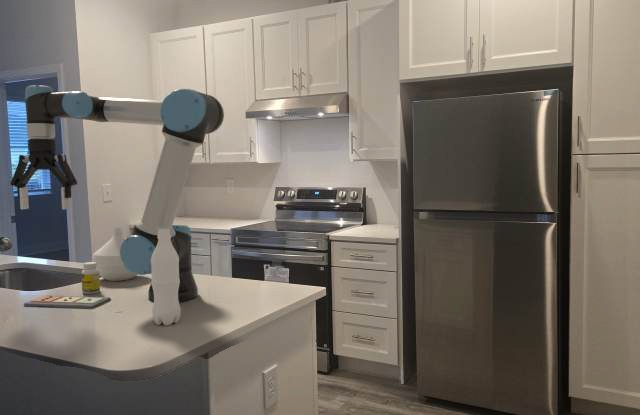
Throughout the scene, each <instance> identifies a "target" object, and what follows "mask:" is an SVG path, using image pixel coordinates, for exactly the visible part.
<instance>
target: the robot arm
mask: <svg viewBox="0 0 640 415" xmlns="http://www.w3.org/2000/svg"><path fill="white" fill-rule="evenodd" d="M24 98H25V99H24V104H25V113H26V114H25V115H26V136H27V138H29V139H28V140H27V150H28V152H29V155H27V154H20V155H19V156H18V163H17V166H16V169H15V171H14V173H13V176H12V179H11V181H10V186H12V187H13V186H14V187H16V188H17V189H16V190H17V197H18V199H19V205H20V210H29V209H30V206H29V205H30V204H29V189H28V187H27V184H28V182H30V180H31V179H32V177H33V176H34V175H35V174H36V172H38V171H39V170H44V171H45V170H47V171H50V173H52V174H53V176H54V177H55V178H56V179H57V180H58V181H59V183H60V184H61V185H62V187H61V188H60V192H61V195H60V196H61V209H62V210H70V205H71V204H70V199H71V198H72V187H73V186H77V185H78V181H77V179H76V176H75V175H74V174H73V171H72V170H71V168H70V165H69V163H68V161H67V155H66V154H62V153H61V154H60V153H59V154H56V151H57V142H56V140H55V138H56V125H55V124H56V119H77V120H85V121H93V122H98V123H122V124H123V123H125V124H139V125H151V126H152V125H153V126H154V125H155V126H162V129H161V133H162V135H163V137H164V143H163V145H162V146H163V147H162V149H161V152H160V157H159V159H158V163H157V167H156V170H155V174H154V177H153V181H152V184H151V186H150V190H149V195H148V197H147V201H146V204H145V206H144V207H145V209H144V211H143V215H142V217H141V219H139V220H137V221H136V222H134V224H133V225H134V226H133V227H132V228H133V229H132V232H131V235H129V236H127V237H125V238H126V239H125V240H124V241H123V242H122V244H121V247H120V257H121V260H122V262H123V263H124V266H125V267H126V268H127V269H128V270H129V271H130V272H132V273H134V274H137V275H139V276H144V275H152V269H151V257H152V254H153V252H154V250H155V248H156V246H157V244H158V238H157V237H158V229H162V228H169V229H170V234H171V235H170V236H171V243H172V245H173V247H174V249H175V250H176V252H177V254H178V257H179V279H180V284H179V289H178V301H179V303H180V302H185V301H190V300H192V299H193V300H194V299H195V298H197V297H198V296H199V290H198V285H197V283H196V279H195V276H194V275H193V272H192V270H193V269H192V267H193V266H192V233H191V227H190V226H188V225H185V224H184V225H183V224H182V225H181V224H174V222H175V219H176V215H177V212H178V209H179V205H180V201H181V198H182V195H183V192H184V188H185V184H186V181H187V180H188V175H189V172H190V168H191V165H192V162H193V158H194V155H195V151H196V149H197V148H199V147H200V146H202V145H203V144H204V140H205V138H206V135H209V134H212V133H215V132H216V131H217V130H219V129H220V127H222V124H223V122H224V117H225V112H224V111H225V110H224V108H223V106H222V104H221V102H220V101H219V100H218V99H217V98H215V97H214V96H212V95H210V94H206V93H203V92H200V91H198V90H195V89H190V88H178V89H174V90H173V91H171V92H169V93H168V94H167V95H166V96H165V98H164V99H163V100H161V99H159V100H158V99H140V98H139V99H138V98H121V97H119V98H116V97H99V96H98V97H97V96H92V95H89V94H88V93H86V92H85V91H76V90H70V91H62V92H60V91H58V92H54V89H53V87H51V86H48V85H28V86H27V87H26V88H25V97H24ZM29 162H30V163H29ZM56 162H58V164H56ZM58 165H59V166H58ZM137 275H136V276H137ZM147 293H148V294H147V295H148V296H147V297H148V300H149V301H152V302H154V292H153V288H152V285H151V284H150V286H149V287H148V292H147Z"/></svg>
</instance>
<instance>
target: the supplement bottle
mask: <svg viewBox="0 0 640 415" xmlns="http://www.w3.org/2000/svg"><path fill="white" fill-rule="evenodd" d="M96 267H97V263H96V262H93V261H89V262H88V261H87V262H86V261H85V262H83V269H82V270H81V289H82V290H81V292H82V294H86V295H89V294H90V295H92V294H93V295H94V294H97V293H99V292H100V291H101V284H100V283H101V280H100V275H99V270H98V269H96Z"/></svg>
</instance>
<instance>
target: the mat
mask: <svg viewBox="0 0 640 415" xmlns="http://www.w3.org/2000/svg"><path fill="white" fill-rule="evenodd" d="M111 300H112V299H111V297H110V296H107V297H106V296H105V297H104V296H79V295H78V296H74V295H72V296H71V295H43V296H41V297H37V298H35V299H33V300H30V301H26V302H25V303H23V306H24V307H36V306H53V307H52V308H65V307H70V308H73V309H94V308H97V307H99V306H101V305H102V304H105V303H107V302H110V301H111Z"/></svg>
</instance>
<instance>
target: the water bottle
mask: <svg viewBox="0 0 640 415" xmlns="http://www.w3.org/2000/svg"><path fill="white" fill-rule="evenodd" d="M170 235H171V234H170V229H169V228H162V229H158V237H157V238H158V244H157V246H156V248H155V250H154V252H153V254H152V257H151V269H152V274H151V280H150V281H151V282H150V285H152V288H153V292H154V301H153V306H152V310H151V312H152V315H151V316H152V319H153V321H154V323H155V324H156V325H158V326H159V325H160V326H161V325H162V324H163V325H164V326H166V327H168V326H171V325H172V324H177V323H178V322H179V321H180V318H181V313H182V312H181V311H182V310H181V306H180V302H179V301H178V289H179V284H180V279H179V257H178V254H177V252H176V250H175V249H174V247H173V245H172V243H171V236H170Z"/></svg>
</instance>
